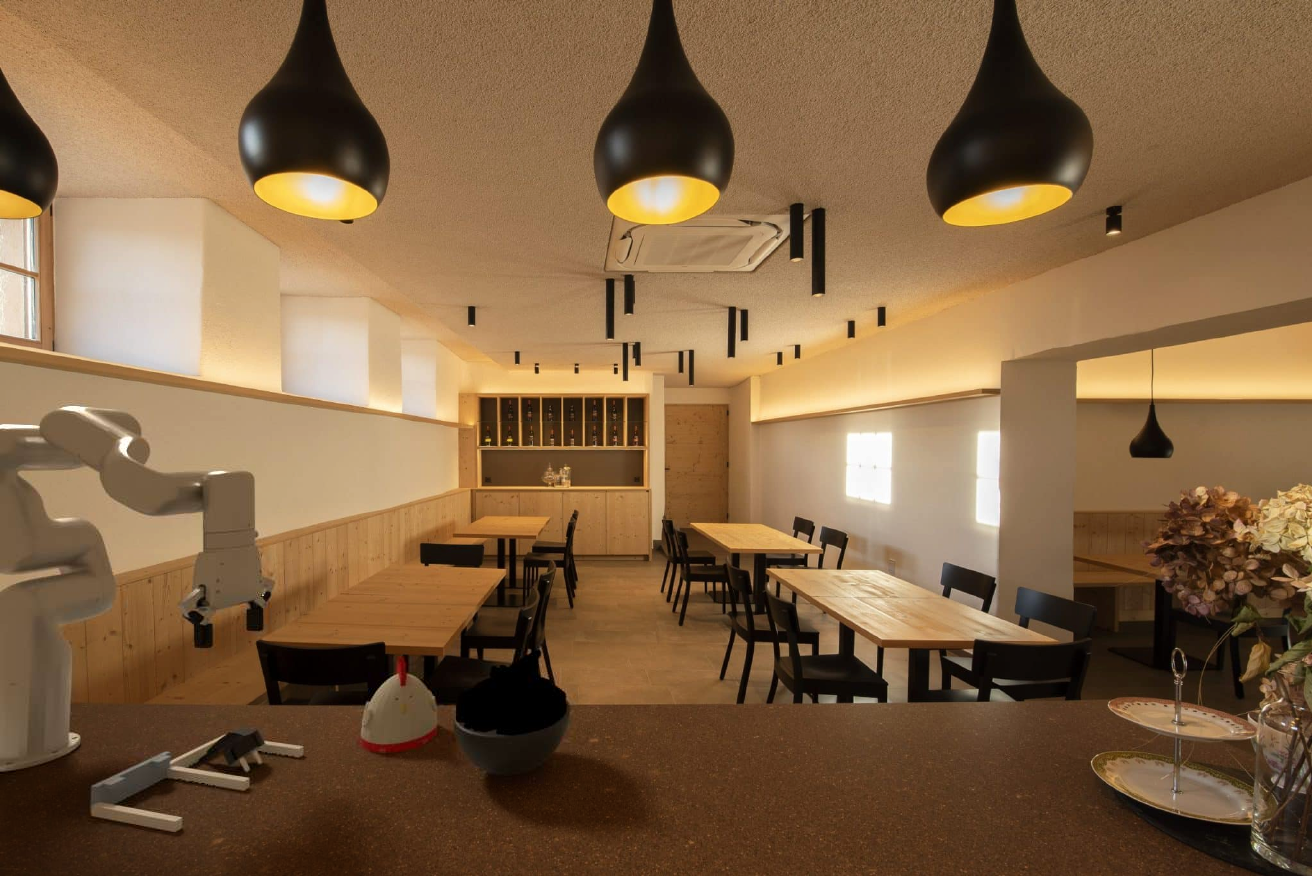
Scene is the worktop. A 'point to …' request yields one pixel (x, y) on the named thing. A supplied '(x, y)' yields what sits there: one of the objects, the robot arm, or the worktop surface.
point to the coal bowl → (511, 719)
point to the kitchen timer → (399, 714)
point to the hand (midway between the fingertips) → (230, 638)
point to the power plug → (238, 746)
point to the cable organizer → (159, 769)
